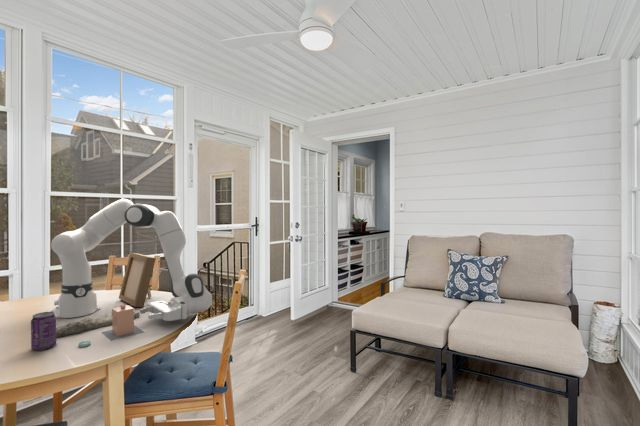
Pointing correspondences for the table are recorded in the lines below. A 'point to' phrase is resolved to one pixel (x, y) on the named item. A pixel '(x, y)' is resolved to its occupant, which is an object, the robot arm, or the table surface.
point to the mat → (112, 336)
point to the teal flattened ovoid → (84, 344)
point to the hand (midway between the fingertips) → (144, 314)
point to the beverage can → (43, 330)
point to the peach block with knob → (122, 320)
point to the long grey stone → (85, 325)
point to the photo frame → (137, 279)
